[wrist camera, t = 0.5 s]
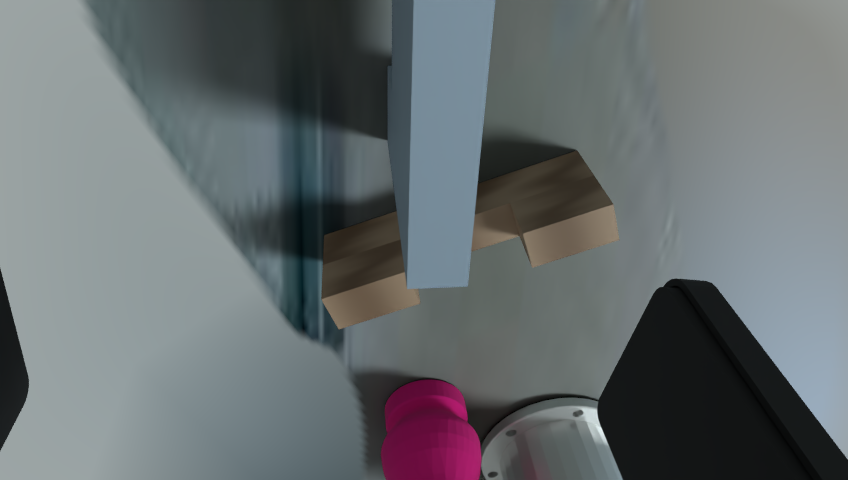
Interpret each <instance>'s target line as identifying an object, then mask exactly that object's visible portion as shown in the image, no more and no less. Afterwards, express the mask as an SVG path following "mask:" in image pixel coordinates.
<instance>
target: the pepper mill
mask: <svg viewBox="0 0 848 480" xmlns="http://www.w3.org/2000/svg"><path fill="white" fill-rule="evenodd" d="M467 421H468V416H467V410H466V405H465V400H464V398H463V395H462V394H461V392H460V391H459V390H458V389H457V388H456V387H455V386H453V385H452V384H449V383H446V382H444V381H441V380H432V379H428V380H418V381H415V382H411V383H408V384H406V385H404V386H402V387H400V388H398V389H397V390H396V391H395V392H394V393H393V394H392V395H391V396H390V397H389V399H388V400H387V402H386V405H385V422H386V430H387V433H388V434H387V435H386V438H385V440H384V442H383V445H382V449H381V459H382V466H383V471H384V475H385V478H386V480H479V477H480V470H481V459H482V457H481V448H480V440H479V438H478V435H477V433H476V432H475V430H474V429H473V427H472V426H471V425H470V424H469V423H467Z"/></svg>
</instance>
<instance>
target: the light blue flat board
mask: <svg viewBox="0 0 848 480" xmlns="http://www.w3.org/2000/svg"><path fill="white" fill-rule="evenodd" d="M494 8H495V0H392V66H388V148H389V156H390V163H391V171H392V178H393V186H394V194H395V201H396V209H397V216H398V224H399V232H400V239H401V247H402V255H403V262H404V270H405V277H406V285H407V289H420V288H443V287H467V286H468V278H469V268H470V257H471V247H472V236H473V226H474V216H475V205H476V195H477V185H478V174H479V164H480V153H481V143H482V133H483V122H484V112H485V102H486V91H487V81H488V70H489V60H490V50H491V39H492V29H493V19H494Z"/></svg>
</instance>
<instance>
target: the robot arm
mask: <svg viewBox="0 0 848 480" xmlns="http://www.w3.org/2000/svg"><path fill="white" fill-rule="evenodd" d="M28 388H29V379H28V374H27V370H26V366H25V362H24V358H23V354H22V350H21V347H20V343H19V339H18V335H17V331H16V327H15V324H14V319H13V316H12V312H11V308H10V304H9V300H8V296H7V292H6V289H5V285H4V281H3V277H2V273H1V269H0V450H1V448H2V446H3V444H4V442H5V440H6V439H7V437H8V435H9V433H10V431H11V429H12V427H13V425H14V423H15V421H16V419H17V417H18V415H19V413H20V411H21V409H22V408H23V405H24V403H25V401H26V398H27V394H28ZM481 457H482V459H481V469H482V473H483V475H484V477H485V479H486V480H848V459H847V458H846V457H845V455H844V454H843V453H842V452H841V451H840V449H839V448H838V446H837V445H836V444H835V442H834V441H833V440H832V439H831V437H830V436H829V434H828V433H827V432H826V431H825V429H824V428H823V427H822V425H821V424H820V423H819V421H818V420H817V419H816V418H815V416H814V415H813V414H812V412H811V411H810V410H809V408H808V407H807V406H806V405H805V403H804V402H803V400H802V399H801V398H800V397H799V395H798V394H797V393H796V391H795V390H794V389H793V387H792V386H791V385H790V383H789V382H788V381H787V379H786V378H785V377H784V376H783V374H782V373H781V372H780V370H779V369H778V368H777V366H776V365H775V364H774V362H773V361H772V360H771V359H770V357H769V356H768V355H767V353H766V352H765V351H764V349H763V348H762V347H761V345H760V344H759V343H758V341H757V340H756V339H755V338H754V336H753V335H752V334H751V332H750V331H749V330H748V328H747V327H746V326H745V324H744V323H743V322H742V320H741V319H740V318H739V317H738V315H737V314H736V313H735V311H734V310H733V309H732V307H731V306H730V305H729V304H728V302H727V301H726V299H725V298H724V297H723V295H722V294H721V293H720V292H719V290H718V289H717V288H716V287H715V286H714V285H713V284H712V283H710V282H707V281H699V280H686V279H671V280H670V281H668V282H667V283H666V284H665V285H664V287H660V288H658V289H657V290H656V291H655V292H654V294H653V296H652V298H651V300H650V301H649V303H648V305H647V307H646V309H645V311H644V313H643V315H642V317H641V319H640V321H639V323H638V325H637V327H636V329H635V331H634V332H633V334H632V336H631V338H630V340H629V342H628V344H627V346H626V348H625V350H624V352H623V354H622V356H621V358H620V360H619V361H618V363H617V365H616V367H615V369H614V371H613V373H612V375H611V377H610V379H609V381H608V383H607V385H606V387H605V389H604V390H603V392H602V394H601V396H600V398H599V401H594V400H590V399H584V398H557V399H551V400H545V401H542V402H538V403H535V404H532V405H529V406H527V407H524V408H522V409H520V410H517V411H516V412H514V413H512V414H511V415H509V416H507V417H506V418H504V419H503V420H502V421H501V422H499V423H498V424H497V425H496V426H495V427H494V428H493V429H492V430H491V431H490V432H489V434H488V435H487V436H486V438H485V440H484V442H483V443H482V446H481Z"/></svg>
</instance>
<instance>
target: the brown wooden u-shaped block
mask: <svg viewBox="0 0 848 480" xmlns="http://www.w3.org/2000/svg"><path fill="white" fill-rule="evenodd" d="M518 236H520V238H521V241H522V243H523V246H524V248H525V251H526V253H527V256H528V258H529V261H530V263H531V265H532V268H533V267H536V266H539V265H542V264H545V263H549V262H552V261H555V260H558V259H561V258H564V257H567V256H570V255H574V254H577V253H580V252H583V251H586V250H589V249H592V248H596V247H599V246H602V245H605V244H608V243H611V242H614V241H617V240H619V235H618V229H617V223H616V217H615V211H614V205H613V203H612V202H611V200H610V199H609V197H608V196H607V194H606V193H605V191H604V190H603V188H602V187H601V185H600V184H599V182H598V181H597V179H596V178H595V176H594V175H593V173H592V172H591V170H590V169H589V167H588V166H587V164H586V163H585V161H584V160H583V158H582V157H581V155H580V154H579V152H578V151H574V152H571V153H568V154H565V155H562V156H559V157H556V158H553V159H550V160H547V161H544V162H541V163H538V164H535V165H532V166H529V167H526V168H523V169H520V170H517V171H514V172H511V173H508V174H505V175H502V176H499V177H496V178H493V179H490V180H487V181H484V182H481V183H478V185H477V195H476V205H475V216H474V226H473V236H472V247H471V251H475V250H478V249H481V248H484V247H487V246H490V245H493V244H496V243H499V242H502V241H505V240H508V239H512V238H515V237H518ZM321 299H322V301H323V303H324V305H325V306H326V308H327V310H328V311H329V313H330V315H331V317H332V318H333V320H334V322H335V324H336V325H337V327H338V329H342V328H345V327H348V326H351V325H354V324H357V323H360V322H364V321H367V320H370V319H373V318H376V317H379V316H382V315H385V314H389V313H392V312H395V311H398V310H401V309H404V308H407V307H411V306H414V305H417V304H420V298H419V292H418V289H407V285H406V277H405V270H404V262H403V255H402V247H401V239H400V232H399V224H398V216H397V211H395V212H392V213H389V214H386V215H383V216H380V217H377V218H374V219H371V220H368V221H365V222H362V223H359V224H356V225H353V226H350V227H347V228H344V229H341V230H338V231H335V232H332V233H329V234H326V235H324V252H323V274H322V297H321Z"/></svg>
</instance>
